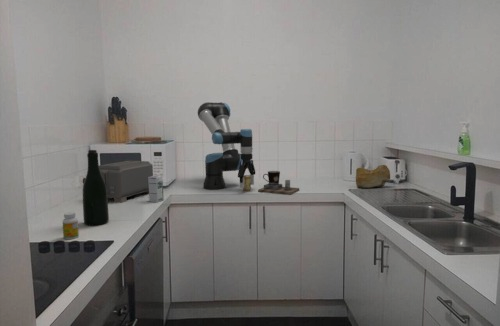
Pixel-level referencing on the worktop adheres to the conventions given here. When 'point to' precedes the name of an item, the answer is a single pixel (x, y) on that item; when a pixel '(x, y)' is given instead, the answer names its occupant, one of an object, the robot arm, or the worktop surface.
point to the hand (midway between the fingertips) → (247, 186)
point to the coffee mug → (273, 176)
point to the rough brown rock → (372, 177)
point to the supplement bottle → (70, 226)
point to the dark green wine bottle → (94, 193)
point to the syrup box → (155, 188)
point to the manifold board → (279, 188)
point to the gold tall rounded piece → (247, 183)
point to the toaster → (126, 178)
